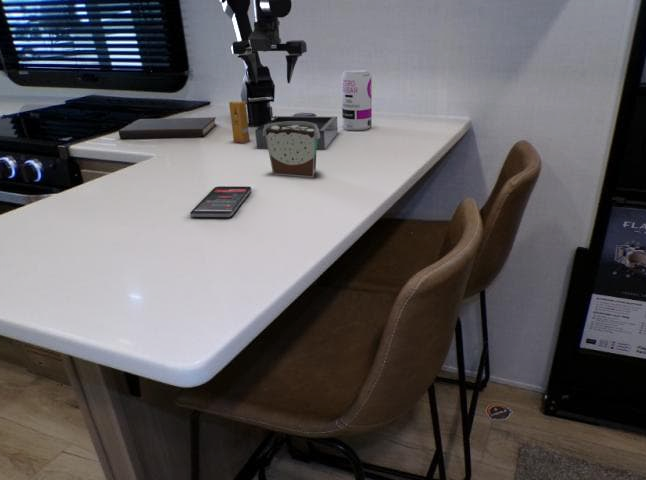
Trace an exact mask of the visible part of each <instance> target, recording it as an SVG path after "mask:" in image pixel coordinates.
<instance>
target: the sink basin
mask: <svg viewBox="0 0 646 480" xmlns="http://www.w3.org/2000/svg"><path fill="white" fill-rule="evenodd" d="M286 121H303V122H311V123H314V124H316V125H317V128H318V129H319V133H320V138H319V139H317V149H316V150H326V149H327V148H328V146H329V145H330V144H331V143H332V142H333V140H334V139H335V138H336V136H337V135H338V133H339V131H338V130H339V129H338V128H339V127H338V116H329V115H328V116H326V115H325V116H324V115H323V116H321V115H320V116H317V115H316V116H315V115H314V116H313V115H312V116H311V115H310V116H309V115H307V116H306V115H304V116H303V115H301V116H300V115H294V116H293V115H274V116H273V118H272V119H270V120H269V121H267V122H266V123H264V124H263V125H262V126H258V127H257V128H256V129H254V133H255V141H256V149H268V146H267V141H266V135H264V136H263V129H264V125H267V124H271V123H276V122H286Z"/></svg>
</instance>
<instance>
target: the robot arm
mask: <svg viewBox="0 0 646 480" xmlns="http://www.w3.org/2000/svg"><path fill="white" fill-rule="evenodd" d="M218 1H219V2H220V4H221V6H222V9H223V12H224V13H225V14H226V15H227V16H228V17H229V18H230V19H231V20H232V24H233V28H234V31H235V35H236V39H237V41H232V43H231V54H232V55H237V58H238V59H241V60H242V62H243V65H244V74H243V78H242V87H241V91H240V101H245V103H246V112H247V121H248V127H249V126H251V127H253V126H254V127H260V126H262V125H263V124H264V123H266V122H267V121H269V120H270V119H272V118H273V117H274V114H273V106H271V103H274V102H275V94H276V93H275V92H276V84H275V82H274V80H273V78H272V75H271V72H270V71H271V70H270V68H269V67H268V66H267V65H266V66H265V65H263V64H262V62H261V58H260V55H259V52H263V53H265V52H287V53H288V54H285V55H284V56H285V61H286V81H287V84H291V81H292V77H293V74H294V70H295V68H296V64H297V62H298V59H299V57H302V56H303V54H305V53H307V51H308V49H307V46H308V45H307V42H306V41H305V40H304V39H300V40H299V39H297V40H295V39H294V40H287V41H286V42H285V43H282V39H281V38H280V25H281V23H280V20H279V18H280V19H282V18H285V17H287V16H288V15H289V14H290V12H291V10H292V0H253V11H254V22H253V29H252V24H251V20H250V16H249V13H248V12H249V10H250V7H251V0H218Z"/></svg>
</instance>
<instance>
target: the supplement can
mask: <svg viewBox="0 0 646 480" xmlns="http://www.w3.org/2000/svg"><path fill="white" fill-rule="evenodd" d="M340 79H341V81H340V83H341V84H340V85H341V111H342V113H341V114H342V115H341V116H342V127H343V128H344V129H345V130H347V131H354V132H355V131H356V132H357V131H358V132H359V131H366V130H369V129H370V127H372V124H373V122H372V121H373V120H372V119H373V117H372V116H373V115H372V109H373V108H372V99H373V98H372V95H373V94H372V90H373V89H372V84H373V83H372V81H373V80H372V75H371V72H370V70H369V69H363V68H362V69H355V68H354V69H345V70H343V72H342V75H341V77H340Z"/></svg>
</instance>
